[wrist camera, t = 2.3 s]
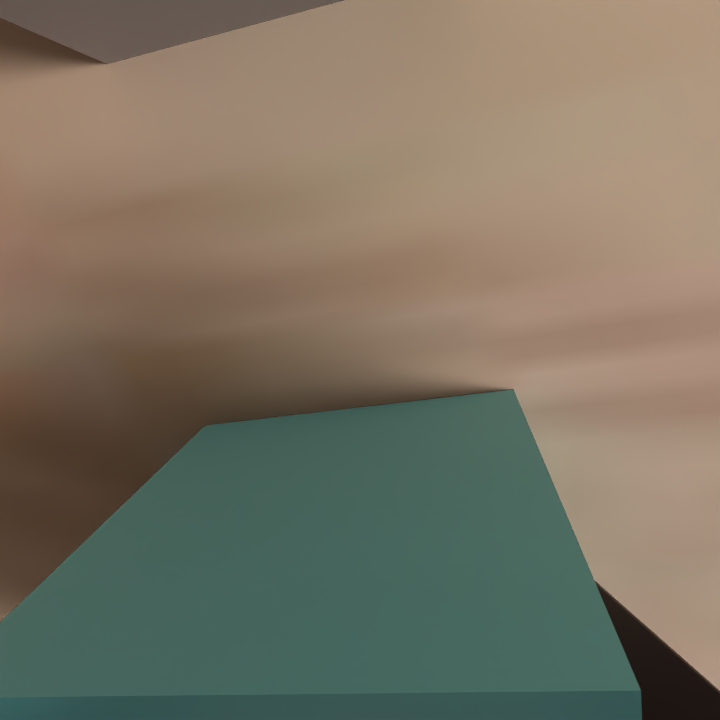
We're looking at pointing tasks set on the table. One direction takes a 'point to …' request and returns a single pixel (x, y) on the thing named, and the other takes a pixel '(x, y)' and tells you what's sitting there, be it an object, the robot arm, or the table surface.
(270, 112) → the table surface
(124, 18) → the gray cube
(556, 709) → the teal cube
